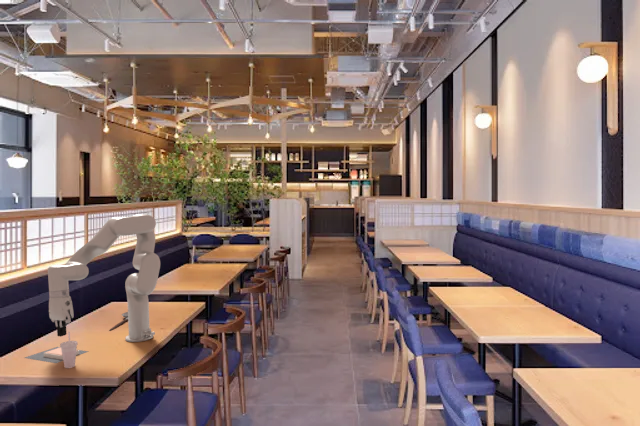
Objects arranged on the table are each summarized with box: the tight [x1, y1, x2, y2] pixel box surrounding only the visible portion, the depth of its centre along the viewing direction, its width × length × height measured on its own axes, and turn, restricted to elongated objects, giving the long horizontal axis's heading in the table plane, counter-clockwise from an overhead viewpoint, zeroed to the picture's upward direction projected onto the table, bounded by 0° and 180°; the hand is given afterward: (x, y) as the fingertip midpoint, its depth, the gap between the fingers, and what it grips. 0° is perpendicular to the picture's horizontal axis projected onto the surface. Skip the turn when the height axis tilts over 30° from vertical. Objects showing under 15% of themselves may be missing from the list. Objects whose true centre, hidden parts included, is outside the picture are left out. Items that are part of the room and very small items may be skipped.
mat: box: [24, 346, 89, 364], centre depth 211 cm, size 20×16×1 cm
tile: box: [44, 346, 80, 360], centre depth 209 cm, size 2×8×12 cm
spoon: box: [108, 311, 128, 332], centre depth 265 cm, size 11×33×3 cm, turn 177°
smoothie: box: [59, 331, 79, 369], centre depth 196 cm, size 6×6×14 cm
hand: (62, 335), depth 209 cm, fingers closed
